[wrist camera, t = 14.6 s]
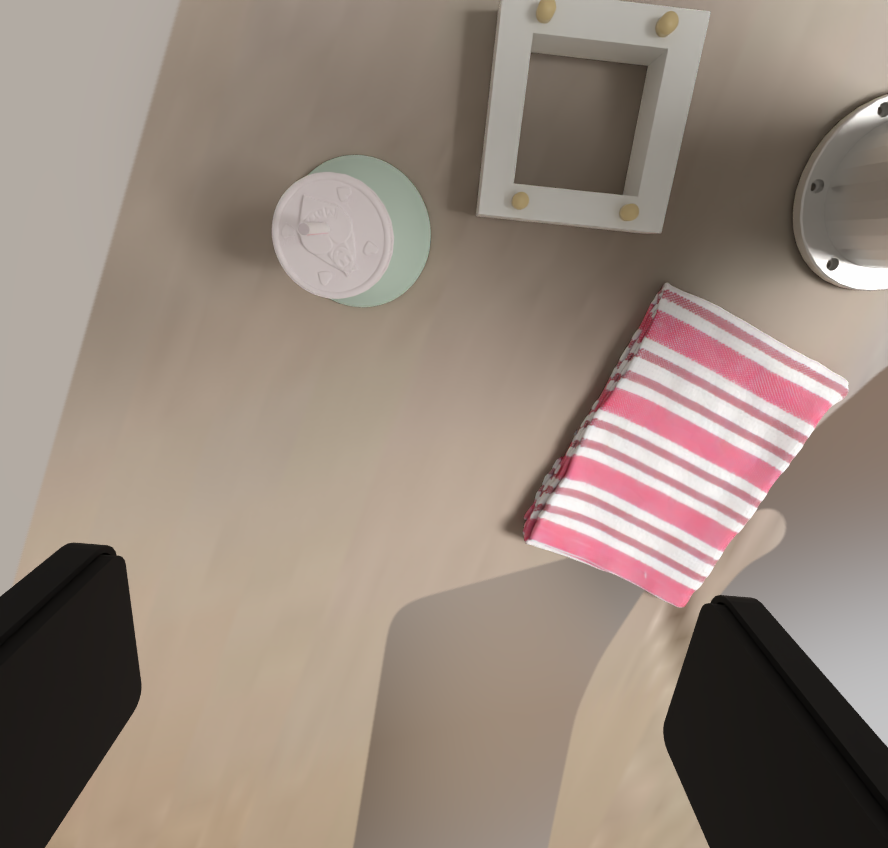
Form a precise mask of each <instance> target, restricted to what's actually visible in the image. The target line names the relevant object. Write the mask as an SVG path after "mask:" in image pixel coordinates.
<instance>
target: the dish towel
mask: <svg viewBox="0 0 888 848" xmlns="http://www.w3.org/2000/svg"><path fill="white" fill-rule="evenodd" d="M848 384H849V383H848V381H847V380H846V379H845V378H843V377H842V376H840V375H838V374H836V373H834V372H832V371H831V370H829V369H828V368H826V367H825V366H823V365H822V364H820V363H819V362H817V361H815V360H812V359H810V358H808V357H806V356H805V355H803V354H801V353H799V352H797V351H795V350H793V349H791V348H789V347H788V346H786V345H785V344H783V343H781V342H779V341H777V340H775V339H774V338H772V337H771V336H769V335H767V334H765V333H764V332H762V331H761V330H759V329H757V328H756V327H754V326H752V325H750V324H749V323H747V322H745V321H744V320H742V319H740V318H738V317H736V316H734V315H733V314H731V313H729V312H728V311H726V310H724V309H723V308H721V307H719V306H718V305H715V304H713V303H711V302H709V301H707V300H704V299H702V298H700V297H697V296H695V295H692V294H690V293H687V292H684V291H682V290H680V289H678V288H676V287H673V286H672V285H670V284H669V283H665V284H664V285H663V286H662V288H661V290H660V291H659V292H658V293H657V294H656V296H655V298H654V300H653V301H652V302H651V304H650V306H649V308H648V310H647V313H646V315H645V317H644V319H643V321H642V323H641V325H640V327H639V328H638V330H637V331H636V332H635V333H634V335H633V337H632V338H631V341H630V343H629V345H628V346H627V347H626V349H625V351H624V352H623V354H622V355H621V357H620V359H619V362H618V364H617V365H616V366H615V368H614V369H613V372H612V374H611V376H610V378H609V380H608V382H607V384H606V386H605V388H604V390H603V392H602V394H601V395H600V397H599V398H598V399H597V400H596V402H595V403H594V404H593V406H592V408H591V411H590V412H589V414H588V415H587V416H586V418H585V419H584V421H583V422H582V424H581V426H580V428H579V430H578V432H577V430H576V432H575V433H574V435H575V437H574V439H573V440H572V442H571V444H570V446H569V448H568V450H567V452H566V454H565V455H564V457H560V458H558V459H557V460H556V461H555V464H554V465H553V466H552V470H551V471H550V472H549V473H548V474H547V475H546V476H545V478H544V481H543V483H542V486H541V488H540V489H539V490H538V491H537V493H536V496H535V501H534V503H533V505H532V506H531V507H530V508H529V509H528V511H527V512H526V514H525V516H524V519H525V520H527V521H526V523H525V524H524V529H523V535H524V540H525V543H526V544H529V545H533V546H535V547H538V548H541V549H545V550H548V551H551V552H555V553H558V554H560V555H563V556H567V557H569V558H572V559H575V560H577V561H580V562H583V563H586V564H588V565H590V566H592V567H595V568H597V569H600V570H603V571H605V572H609V573H612V574H614V575H617V576H619V577H621V578H623V579H625V580H627V581H629V582H631V583H633V584H635V585H637V586H639V587H641V588H643V589H644V590H645V591H647V592H649V593H651V594H652V595H654V596H656V597H658V598H660V599H662V600H663V601H666V602H668V603H670V604H672V605H674V606H676V607H684V606H685V605H686V603H687V602H688V601H689V599H690V597H691V595H692V593H693V592H694V591H696V590H697V589H698V588H699V587H700V586H701V585H702V583H703V582H704V580H705V579H706V577H707V576H708V575H709V574H710V572H711V571H712V569H713V568H714V566H715V564H716V562H717V561H718V560H719V558H720V557H721V555H722V553H723V552H724V550H725V548H726V547H727V545H728V544H729V543H730V541H731V540H732V539H733V538H734V536H735V535H736V534H737V533H739V532H740V531H741V529H742V528H743V527H744V525H745V524H746V522H747V521H748V520H749V519H750V518H751V517H752V515H753V514H754V512H755V511H756V510H757V508H758V505H759V504H760V503H761V502H762V500H763V499H764V498H765V496H766V495H767V493H768V491H769V489H770V488H771V486H772V485H773V483H774V482H775V481H776V479H777V478H778V477H779V476H780V475H781V473H783V472H784V471H785V469H786V468H787V467H788V466H789V464H790V462H791V461H792V459H793V458H794V457H795V456H796V454H797V453H798V452H799V451H800V450H801V448H802V447H803V445H804V443H805V441H806V440H807V438H808V437H809V436H810V434H811V433H812V432H813V430H814V429H815V427H816V425H817V423H818V422H819V420H820V419H821V418H822V417H823V415H824V414H825V413H826V412H827V410H828V409H829V408H830V407H831V406H833V405H834V404H835V403H837V402H839V401H841V400H842V399H843V398H844V397H845V396H846V395H847V393H848V391H849V389H848Z"/></svg>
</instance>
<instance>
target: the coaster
mask: <svg viewBox="0 0 888 848" xmlns="http://www.w3.org/2000/svg"><path fill="white" fill-rule="evenodd" d="M319 172H334V173H341V174H346V175H349V176H351V177H353V178H356V179H358V180H360V181H362V182H363V183H364V184H366V185H367V186H368V187H369V188H371V189H372V190H373V191H374V192H375V193H376V194H377V196H378V197H379V198H380V200H381V201H382V202H383V204H384V205H385V207H386V209H387V212H388V214H389V216H390V219H391V221H392V228H393V234H394V245H393V254H392V257H391V260H390V263H389V266H388V268H387V270H386V271H385V273H384V274H383V276H382V277H381V279H380V280H379V281H378V282H377V283H376V284H375V285H373V286H372V287H371V288H370V289H369V290H367V291H365V292H363V293H360V294H358V295H356V296H352V297H348V298H341V299H331V298H329V299H331V300H333V301H336V302H338V303H341V304H344V305H348V306H354V307H373V306H378V305H382V304H385V303H387V302H390V301H392V300H394V299H396V298H397V297H399V296H401V295H402V294H403V293H405V292H406V291H407V290H408V289H409V288H410V287H411V286H412V285H413V284H414V282H415V281H416V280H417V279H418V277H419V275H420V274H421V272H422V270H423V268H424V266H425V264H426V261H427V258H428V254H429V250H430V243H431V228H430V221H429V216H428V212H427V209H426V206H425V204H424V202H423V200H422V198H421V196H420V194H419V192H418V191H417V189H416V188H415V186H414V185H413V184H412V182H411V181H410V180H409V179H408V178H407V177H406V176H405V175H404V174H403V173H402V172H401V171H399V170H398V169H397V168H395V167H394V166H392V165H391V164H389V163H387V162H385V161H383V160H380V159H377V158H374V157H370V156H364V155H346V156H341V157H337V158H333V159H331V160H329V161H326V162H324V163H323V164H321V165H319V166H318V167H316V168H315V169H314V170H313V171H312V172H310V173H309V174H308V175H310V174H314V173H319Z"/></svg>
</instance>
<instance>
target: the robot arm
mask: <svg viewBox="0 0 888 848" xmlns="http://www.w3.org/2000/svg"><path fill="white" fill-rule="evenodd" d="M811 186H812V188H811ZM793 230H794V235H795V240H796V244H797V247H798V249H799V251H800V253H801V255H802V258H803V259H804V261H805V262H806V263H807V265H808V266H809V267H810V268H811V270H812V271H813V272H815V273H816V274H817V275H818V276H820V277H821V278H822V279H823V280H825V281H827V282H829V283H832V284H834V285H836V286H838V287H843V288H848V289H853V290H864V291H875V290H886V289H888V94H886V95H883V96H881V97H878V98H875V99H873V100H871V101H869V102H868V103H866V104H864V105H862V106H860V107H858V108H856V109H855V110H854V111H852V112H851V113H850V114H848V115H847V116H846V117H844V118H843V119H842V120H840V121H839V122H838V123H837V124H836V125H835V126H834V127H833V128H832V129H831V130H830V131H829V132H828V133H827V134H826V135H825V137H824V138H823V139H822V141H821V142H820V144H819V145H818V146H817V148H816V149H815V150H814V152H813V153H812V155H811V157H810V159H809V161H808V162H807V164H806V166H805V168H804V170H803V172H802V175H801V178H800V181H799V184H798V186H797V189H796V194H795V200H794V206H793ZM140 695H141V677H140V670H139V662H138V654H137V647H136V639H135V631H134V624H133V616H132V608H131V601H130V593H129V586H128V578H127V570H126V564H125V560H124V559H123V557H121V556H117V555H116V552H115V550H114V549H113V548H112V547H111V546H108V545H97V544H84V543H68V544H66V545H64V546H63V547H61V548H60V549H59V550H58V551H56V552H55V553H54V554H53V555H51V556H50V557H49V558H48V559H46V560H45V561H44V562H43V563H41V564H40V565H39V566H38V567H36V568H35V569H34V570H33V571H32V572H30V573H29V574H28V575H27V576H25V577H24V578H23V579H22V580H20V581H19V582H18V583H17V584H15V585H14V586H13V587H12V588H10V589H9V590H8V591H7V592H5V593H4V594H3V595H2V596H1V597H0V848H45V847H46V845H47V844H48V842H49V840H50V839H51V837H52V836H53V834H54V833H55V831H56V830H57V828H58V827H59V825H60V824H61V822H62V821H63V819H64V818H65V816H66V815H67V813H68V811H69V810H70V808H71V807H72V805H73V804H74V802H75V801H76V799H77V798H78V796H79V795H80V793H81V792H82V790H83V789H84V787H85V786H86V784H87V782H88V781H89V779H90V778H91V776H92V775H93V773H94V772H95V770H96V769H97V767H98V766H99V764H100V763H101V761H102V760H103V758H104V757H105V755H106V753H107V752H108V750H109V749H110V747H111V746H112V744H113V743H114V741H115V740H116V738H117V737H118V735H119V734H120V732H121V731H122V729H123V728H124V726H125V725H126V723H127V721H128V720H129V718H130V717H131V715H132V714H133V712H134V710H135V709H136V707H137V704H138V702H139V699H140ZM663 734H664V741H665V745H666V748H667V751H668V753H669V756H670V758H671V760H672V762H673V765H674V767H675V769H676V772H677V774H678V776H679V778H680V781H681V783H682V785H683V788H684V790H685V792H686V794H687V797H688V799H689V801H690V804H691V806H692V808H693V810H694V813H695V815H696V817H697V820H698V822H699V824H700V826H701V829H702V831H703V833H704V836H705V838H706V840H707V842H708V845H709V847H710V848H888V747H887V746H886V745H885V744H884V743H883V742H882V741H881V739H880V738H879V737H878V736H877V735H876V734H875V733H874V731H873V730H872V729H871V728H870V727H869V726H868V724H867V723H866V722H865V721H864V720H863V719H862V718H861V716H859V714H858V713H857V712H856V711H855V710H854V708H853V707H852V706H851V705H850V704H849V703H848V702H847V701H846V699H845V698H844V697H843V696H842V695H841V694H840V692H839V691H838V690H837V689H836V688H835V687H834V686H833V684H832V683H831V682H830V681H829V680H828V679H827V678H826V676H825V675H824V674H823V673H822V672H821V671H820V670H819V668H818V667H817V666H816V665H815V664H814V663H813V662H812V660H811V659H810V658H809V657H808V656H807V655H806V654H805V652H804V651H803V650H802V649H801V648H800V647H799V645H798V644H797V643H796V642H795V641H794V640H793V639H792V638H791V636H790V635H789V634H788V633H787V632H786V631H785V629H784V628H783V627H782V626H781V625H780V624H779V623H778V621H777V620H776V619H775V618H774V617H773V616H772V615H771V613H770V612H769V611H768V610H767V609H766V608H765V607H764V605H763V604H762V603H761V602H759V601H758V600H757V599H754V598H748V597H736V596H724V595H719V596H715V597H714V598H713V599H712V601H711V603H708V604H705V605H703V606H702V608H701V610H700V613H699V616H698V619H697V623H696V626H695V629H694V632H693V635H692V638H691V641H690V644H689V647H688V650H687V654H686V657H685V660H684V663H683V666H682V669H681V672H680V675H679V678H678V681H677V685H676V688H675V691H674V694H673V697H672V700H671V703H670V706H669V709H668V712H667V716H666V719H665V722H664V727H663Z"/></svg>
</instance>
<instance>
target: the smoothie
mask: <svg viewBox="0 0 888 848" xmlns="http://www.w3.org/2000/svg"><path fill="white" fill-rule="evenodd" d="M272 241H273V246H274V250H275V253H276V255H277V258H278V260H279V262H280V264H281V266H282V267H283V269H284V270H285V272H286V273H287V275H288V276H289V277H290V278H291V279H292V280H293V281H294V282H295V283H296V284H298V285H299V286H300V287H301V288H303V289H304V290H306V291H308V292H310V293H312V294H314V295H317V296H320V297H324V298H331V299H341V298H348V297H352V296H356V295H358V294H360V293H363V292H365V291H367V290H369V289H370V288H371V287H372V286H373V285H375V284H376V283H377V282H378V281H379V280H380V279H381V277H382V276H383V274H384V273H385V271H386V270H387V268H388V266H389V263H390V260H391V257H392V254H393V245H394V234H393V228H392V221H391V219H390V216H389V214H388V212H387V209H386V207H385V205H384V204H383V202H382V201H381V200H380V198H379V197H378V196H377V194H376V193H375V192H374V191H373V190H372V189H371V188H369V187H368V186H367V185H366V184H364V183H363V182H362V181H360V180H358V179H356V178H353V177H351V176H349V175H346V174H341V173H334V172H319V173H314V174H310V175H307V176H305V177H303V178H301V179H299V180H298V181H296V182H295V183H293V184H292V185H291V186H290V187H289V188H288V189H287V190H286V191H285V192H284V194H283V195H282V197H281V198H280V200H279V202H278V204H277V206H276V209H275V212H274V215H273V220H272Z"/></svg>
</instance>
